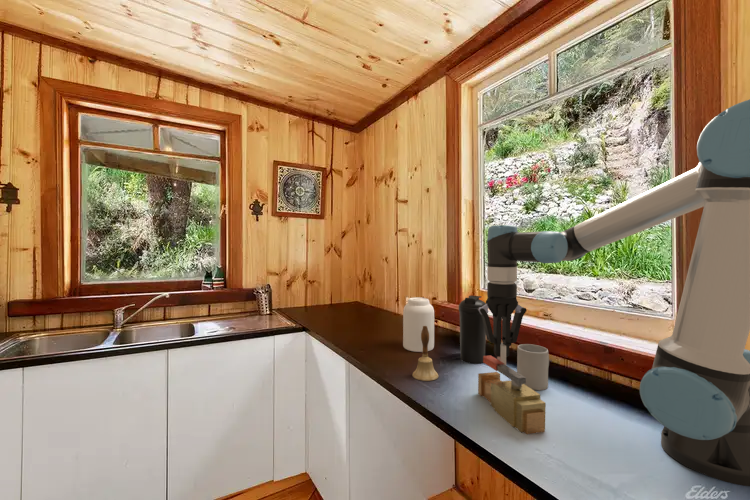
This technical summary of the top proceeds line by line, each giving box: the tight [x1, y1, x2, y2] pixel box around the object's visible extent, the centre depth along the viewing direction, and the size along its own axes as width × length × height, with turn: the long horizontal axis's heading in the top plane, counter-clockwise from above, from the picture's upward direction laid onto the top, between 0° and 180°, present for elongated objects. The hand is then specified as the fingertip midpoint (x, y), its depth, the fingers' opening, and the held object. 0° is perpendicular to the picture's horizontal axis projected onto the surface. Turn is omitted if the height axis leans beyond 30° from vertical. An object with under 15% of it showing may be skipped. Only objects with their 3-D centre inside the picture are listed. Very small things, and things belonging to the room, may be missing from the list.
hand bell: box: [411, 326, 439, 382], centre depth 105 cm, size 8×8×16 cm
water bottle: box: [458, 295, 487, 365], centre depth 119 cm, size 10×10×23 cm
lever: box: [483, 355, 526, 391], centre depth 86 cm, size 15×2×4 cm, turn 13°
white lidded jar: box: [402, 297, 435, 353], centre depth 133 cm, size 12×12×20 cm
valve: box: [477, 371, 547, 435], centre depth 84 cm, size 20×7×7 cm, turn 12°
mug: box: [516, 343, 550, 391], centre depth 100 cm, size 12×8×11 cm
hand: (501, 367), depth 90 cm, fingers closed
